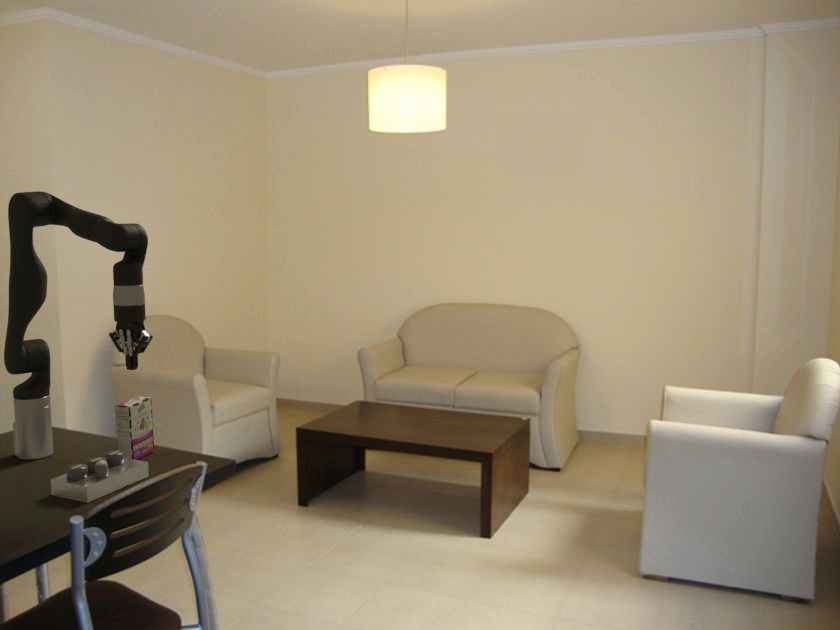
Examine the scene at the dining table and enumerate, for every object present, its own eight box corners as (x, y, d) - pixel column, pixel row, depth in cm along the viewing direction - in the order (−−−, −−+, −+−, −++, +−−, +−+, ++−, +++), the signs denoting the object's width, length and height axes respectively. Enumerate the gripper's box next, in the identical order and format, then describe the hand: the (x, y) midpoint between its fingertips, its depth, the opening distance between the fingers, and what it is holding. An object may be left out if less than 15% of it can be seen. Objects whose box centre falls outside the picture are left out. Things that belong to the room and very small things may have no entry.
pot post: (92, 477, 186) (91, 463, 186) (102, 473, 189) (101, 459, 188) (101, 478, 185) (101, 465, 185) (111, 475, 188) (110, 461, 187)
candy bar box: (139, 450, 220) (137, 395, 218) (154, 451, 219) (152, 396, 217) (116, 462, 209) (114, 404, 207) (133, 463, 208) (130, 406, 206)
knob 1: (63, 492, 185) (61, 468, 185) (78, 485, 190) (77, 462, 189) (77, 495, 184) (76, 471, 183) (93, 488, 188) (91, 465, 187)
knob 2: (82, 484, 191) (81, 460, 190) (97, 478, 195) (96, 455, 194) (96, 487, 189) (95, 463, 188) (111, 481, 193) (110, 458, 193)
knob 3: (101, 476, 196) (100, 454, 196) (115, 471, 201) (114, 448, 200) (115, 479, 194) (114, 456, 194) (129, 473, 199) (128, 451, 198)
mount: (51, 494, 185) (50, 479, 184) (114, 470, 203) (113, 455, 203) (87, 502, 180) (86, 486, 180) (148, 476, 198) (148, 461, 198)
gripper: (98, 302, 190) (101, 369, 193) (138, 305, 185) (141, 374, 187) (120, 299, 197) (123, 364, 199) (160, 302, 192) (162, 369, 194)
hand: (132, 369), depth 193 cm, fingers closed
